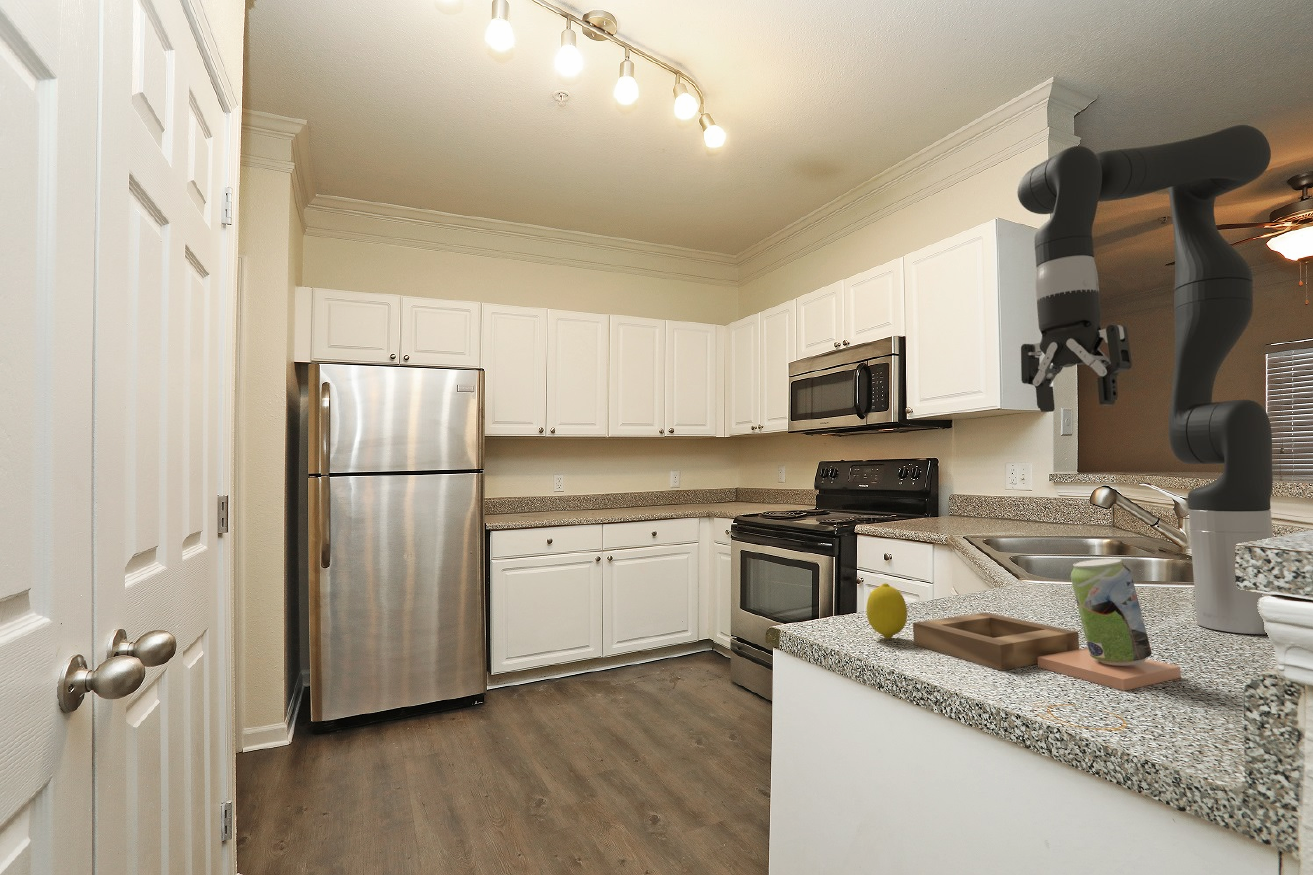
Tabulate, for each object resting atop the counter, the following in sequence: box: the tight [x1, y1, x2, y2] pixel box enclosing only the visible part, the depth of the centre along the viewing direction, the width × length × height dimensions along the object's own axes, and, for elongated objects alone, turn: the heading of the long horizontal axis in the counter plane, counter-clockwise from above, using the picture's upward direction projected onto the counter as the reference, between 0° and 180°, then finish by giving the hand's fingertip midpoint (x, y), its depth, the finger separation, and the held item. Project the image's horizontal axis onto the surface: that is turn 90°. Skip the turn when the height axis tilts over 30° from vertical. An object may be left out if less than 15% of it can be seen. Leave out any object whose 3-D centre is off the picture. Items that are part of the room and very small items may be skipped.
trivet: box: [1037, 647, 1182, 692], centre depth 77 cm, size 10×10×1 cm
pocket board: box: [912, 612, 1080, 672], centre depth 88 cm, size 14×14×3 cm
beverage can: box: [1070, 557, 1153, 666], centre depth 77 cm, size 6×7×12 cm
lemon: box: [866, 582, 908, 640], centre depth 95 cm, size 6×6×8 cm
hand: (1075, 408), depth 92 cm, fingers open, 8 cm apart
